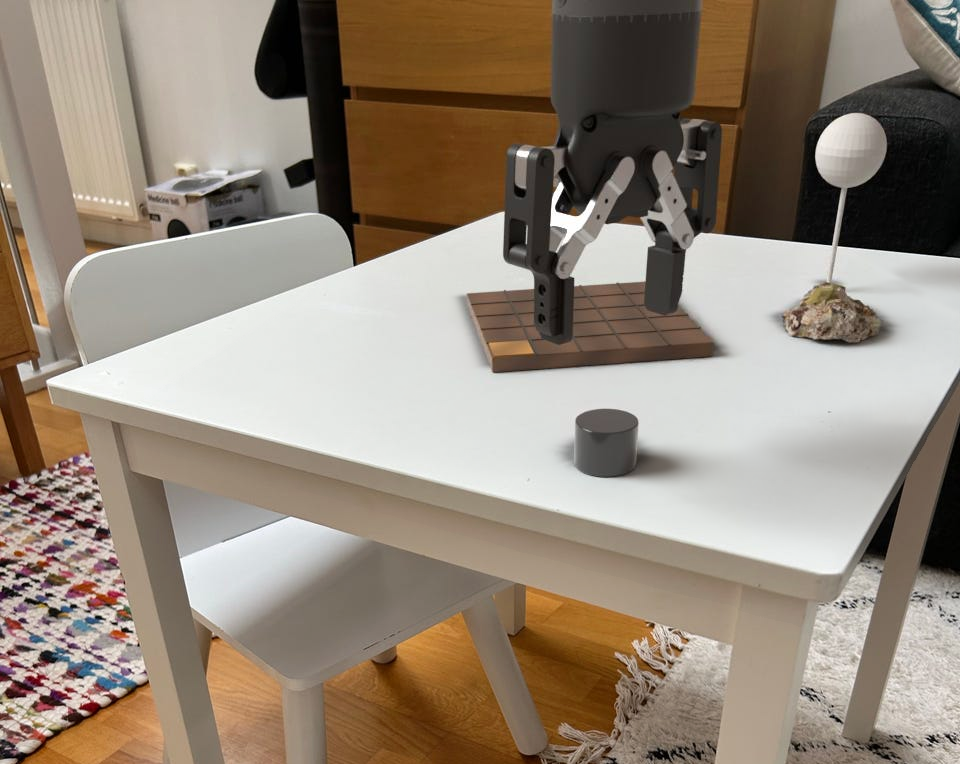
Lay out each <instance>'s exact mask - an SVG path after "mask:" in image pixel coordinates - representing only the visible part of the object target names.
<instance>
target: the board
mask: <svg viewBox="0 0 960 764" xmlns="http://www.w3.org/2000/svg"><path fill="white" fill-rule="evenodd" d="M644 295H645V281H633V282H616V283H603V284H587V285H582V284H579V285H574V310H573V338H572V340H571V342H569V343H565V344H562V345H557V344H554V343H552V342H549V341H546V340H544V339H542V338H541V336H540V334H539V332H538V331H536V328H535V325H534V306H535V305H534V288H526V289H512V290H511V289H510V290H507V289H503V290H497V291H496V290H495V291H482V292H469V293H466V306H467V309H468V311H469V314H470V317H471V319H472V322H473V325H474V327H475V330H476V332H477V333H476V334H477V336H478V338H479V341H480V343H481V346H482V349H483V351H484V354H485V355H486V357H485V358H486V359H487V361H488V364H489V367H490V370H491V372H492V373H502V372H504V373H505V372H517V371H530V370H531V371H532V370H545V369H557V368H559V369H560V368H571V367H586V366H587V367H588V366H598V365H599V366H600V365H612V364H626V363H628V364H629V363H640V362H652V361H653V362H654V361H667V360H681V359H682V360H683V359H696V358H709V357H713V351H714V341H713V340H712V338H710V336H708V335H707V334H706V333H705V332H704V331H703V330H702V329H701V328H702V327H701V326H699V325H698V324H697V323H695V321H694V320H693V319H692V318H691V317H690V316H689V314H688V313H687V312H685V311H684V310H683V309H682V308H681V307H680V306H679V305H678V308H677V311H676V312H675V313H672V314H669V315H665V316H664V315H661V314H657V313H654V312H651V311H648V310H647V309H646V307H645V305H644Z"/></svg>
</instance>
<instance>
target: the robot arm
mask: <svg viewBox="0 0 960 764" xmlns="http://www.w3.org/2000/svg"><path fill="white" fill-rule="evenodd" d="M703 1H704V0H551V44H550V45H551V46H550V47H551V48H550V49H551V50H550V51H551V52H550V103H551V105H552V107H553V109H554V110H555V112H556V115H557V119H558V128H557V134H556V136H555V140H554V142H553V144H552V145H549V146H536V145H530V144H524V143H519V142H515V143H512V144H511V145H510V146H509V147H508V149H507V151H506V161H505V162H506V163H505V165H506V166H505V190H504V213H503V215H504V216H503V217H504V219H503V243H502V244H503V245H502V257H503V261H504V262H505V263H506V264H508V265H511V266H515V267H518V268H522V269H525V270H528V271H530V272H531V273H532V276H533V289H534V305H535V306H534V325H535V328H536V331H538V332H539V334H540V336H541V338H542V339H544V340H546V341H549V342H552V343H554V344H557V345H562V344H565V343H569V342H571V340H572V338H573V310H574V286H575V277H573V276H571V275H572V273H573V271H574V270H575V267H576V265H577V264H578V262H579V259H580V258H581V256H582V253H583V252H584V250H585V248H586V247H587V245H589V244H591V243H593V242H594V241H596V240H597V238H598V236H599V234H600V232H601V231H602V229H603V227H604V226H605V225H611V224H616V223H619V222H620V221H622V220H624V219H626V218H627V217H630V218H637V219H640V220H641V222H642V224H643V226H644V228H645V230H646V231H647V234H648V236H649V238H650V239H651V241H652V242H653V243H654V245H651V246H648V247H647V255H646V257H647V258H646V268H645V280H644V282H645V295H644V305H645V307H646V309H647V310H648V311H651V312H654V313H657V314H661V315H664V316H665V315H669V314H672V313H675V312H676V311H677V308H678V306H679V302H680V300H681V297H682V294H683V287H684V286H683V283H684V274H685V265H686V264H685V263H686V254H687V250H688V249H689V248H691V246H692V245H693V242H694V239H695V238H696V237H697V236H699V235H701V233H703V234H705V235H706V234H710V233H711V232H712V231H713V230H714V229H715V226H716V223H717V211H718V210H717V209H718V197H719V180H720V168H721V166H720V165H721V154H722V153H721V152H722V138H723V137H722V136H723V129H722V125H721V124H720V123H719V122H717V121H710V120H707V119H699V118H686V117H684V118H682V119H681V112H683V111H685V110H687V109H688V108H690V107H691V105H692V104H693V101H694V98H695V92H696V91H695V89H696V79H697V78H696V77H697V67H698V56H699V45H700V33H701V21H702V11H703ZM554 188H556V189H555V191H554ZM694 190H695V191H696V193H697V203H696V208H693V195H694ZM573 208H574V210H575V211H576V213H577V214H578V216H575V215H572V214H570V213H571V211H572V209H573ZM562 240H563V241H562ZM560 244H561V245H560Z"/></svg>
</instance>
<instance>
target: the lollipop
mask: <svg viewBox="0 0 960 764" xmlns="http://www.w3.org/2000/svg"><path fill="white" fill-rule="evenodd" d="M886 135H887V134H886V132H885V130H884V128H883V126H882V124H881V123H880V122H879V121H878V120H877V119H876V118H874V117H873V116H871V115H868V114H865V113H864V112H863V113H862V112H851V113H848V114H844V115H842V116H840V117H837V118H836V119H834V120H833V121H832V122H830V123H829V125H827V126H826V128H825V129H824V130H823V131H822V133H821V134H820V136H819V139H818V141H817V144H816V147H815V155H814V156H815V157H814V158H815V159H814V160H815V164H816V165H815V166H816V168H817V171H818V173H819V174H820V176H821V177H822V179H824V180H825V181H826V182H827V183H828V184H830V185H831V186H833V187H837V188H840V189H841V190H840V195H839V202H838V208H837V213H836V214H837V215H836V220H835V227H834V233H833V239H832V246H831V251H830V256H829V262H828V267H827V268H828V270H827V275H826V281H825V282H827V283H830V284H832V282H833V281H832V279H833V274H834V270H835V269H834V268H835V262H836V256H837V251H838V244H839V238H840V233H841V226H842V223H843V222H842V220H843V215H844V210H845V205H846V197H847V193H848V192H847V191H848V188H855V187H858V186H859V185H860V186H861V185H863V184H865V183H866V182H867V181H869V180H870V179H872V177H874V176H875V175H876V173H877V172H878V171H879V169H880V168H881V166H882V165H883V163H884V161H885V158H886V153H887V148H888V141H887V136H886Z"/></svg>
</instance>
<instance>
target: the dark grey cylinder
mask: <svg viewBox="0 0 960 764" xmlns="http://www.w3.org/2000/svg"><path fill="white" fill-rule="evenodd" d="M639 422H640V421H639V419H638V417H637V416H636V415H635V414H633V413H632V412H629V411H625V410H621V409H618V408H596V409H590V410H586V411H584V412H582V413H580V414H578V415H577V416H576V418H575V420H574V447H573V448H574V449H573V450H574V451H573V453H574V454H573V464H574V467H575V468H576V469H577V470H578V471H580V472H581V473H583V474H586V475H590V476H593V477H601V478H602V477H603V478H608V477H609V478H611V477H618V476H619V477H620V476H624V475H626V474H628V473H630V472H632V471H633V470H634V469H635V467H636V465H637V455H638V454H637V453H638V439H639Z"/></svg>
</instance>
